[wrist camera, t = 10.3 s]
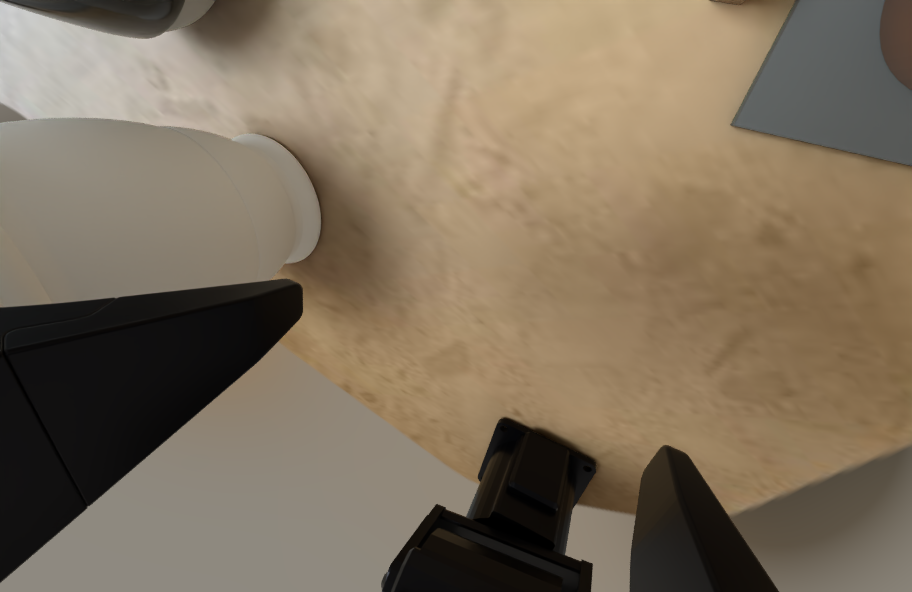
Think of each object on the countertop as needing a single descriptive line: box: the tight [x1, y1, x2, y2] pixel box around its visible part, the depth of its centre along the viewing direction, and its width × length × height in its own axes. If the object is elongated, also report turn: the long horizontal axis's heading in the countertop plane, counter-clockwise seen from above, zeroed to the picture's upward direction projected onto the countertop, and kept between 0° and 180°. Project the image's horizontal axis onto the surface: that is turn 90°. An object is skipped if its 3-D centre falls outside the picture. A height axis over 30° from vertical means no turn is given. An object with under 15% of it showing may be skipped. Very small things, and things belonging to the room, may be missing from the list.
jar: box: [0, 118, 321, 307], centre depth 19 cm, size 11×10×15 cm
